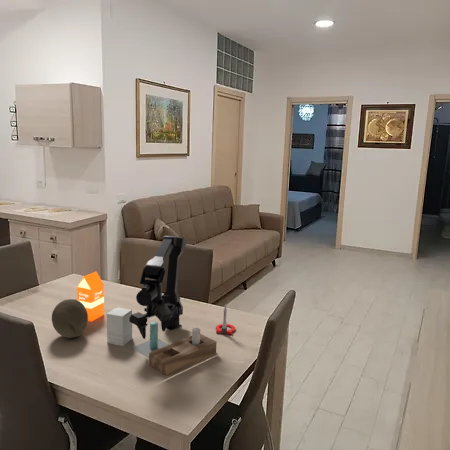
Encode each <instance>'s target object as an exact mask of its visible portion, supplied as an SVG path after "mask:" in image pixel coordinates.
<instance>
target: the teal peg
mask: <svg viewBox="0 0 450 450" xmlns="http://www.w3.org/2000/svg"><path fill="white" fill-rule="evenodd" d="M158 337H159V323H158V322H157V321H151V322H150V323H149V341H150V349H152V350H155V349H157V348H158V339H159V338H158Z"/></svg>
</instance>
